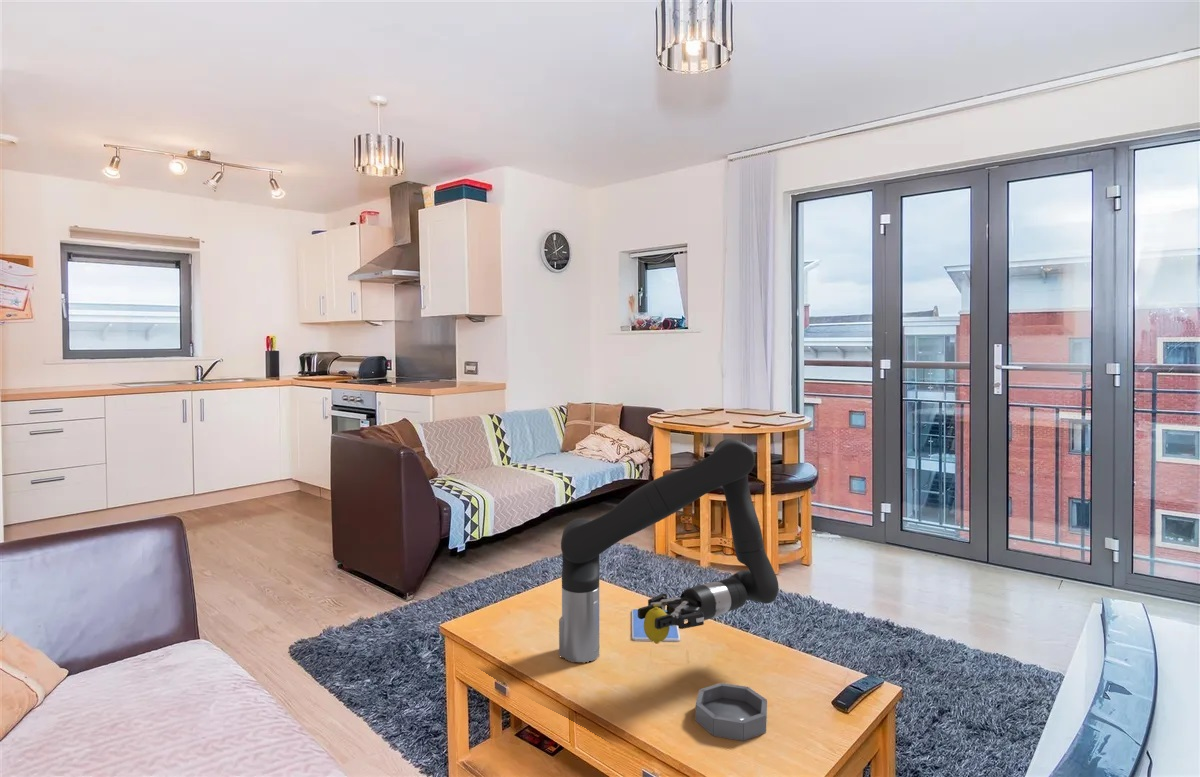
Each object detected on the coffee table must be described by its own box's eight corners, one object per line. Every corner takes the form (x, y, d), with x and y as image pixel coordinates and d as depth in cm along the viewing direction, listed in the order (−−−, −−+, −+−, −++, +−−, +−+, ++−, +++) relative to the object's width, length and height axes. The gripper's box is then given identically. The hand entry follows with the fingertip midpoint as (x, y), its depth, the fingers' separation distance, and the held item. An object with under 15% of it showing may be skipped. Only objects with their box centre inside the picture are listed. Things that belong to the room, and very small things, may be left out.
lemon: (668, 650, 132) (668, 613, 131) (642, 648, 133) (641, 611, 132) (670, 638, 137) (670, 603, 137) (645, 636, 138) (645, 601, 138)
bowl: (692, 732, 122) (692, 714, 122) (701, 695, 136) (701, 679, 135) (765, 744, 118) (765, 726, 118) (767, 705, 132) (767, 689, 131)
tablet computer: (631, 612, 181) (631, 607, 181) (675, 613, 181) (675, 608, 181) (631, 642, 162) (631, 637, 162) (680, 644, 161) (680, 639, 161)
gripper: (685, 575, 148) (627, 591, 139) (728, 595, 136) (668, 613, 127) (685, 606, 149) (627, 624, 139) (728, 628, 137) (668, 649, 127)
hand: (647, 619), depth 133 cm, fingers closed on lemon, 5 cm apart
